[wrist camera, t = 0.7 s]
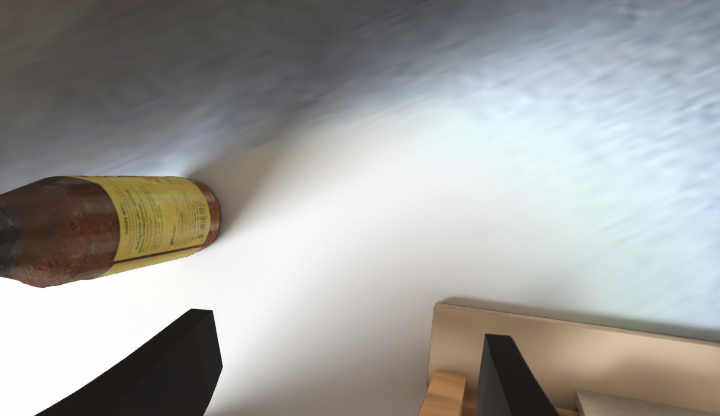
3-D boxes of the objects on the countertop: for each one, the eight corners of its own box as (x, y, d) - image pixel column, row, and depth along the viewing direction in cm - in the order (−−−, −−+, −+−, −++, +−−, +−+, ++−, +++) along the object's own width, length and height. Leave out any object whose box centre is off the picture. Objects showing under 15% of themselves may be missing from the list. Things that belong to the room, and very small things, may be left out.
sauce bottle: (188, 161, 39) (-119, 128, 19) (240, 215, 37) (-33, 237, 18) (142, 220, 40) (-186, 243, 21) (190, 274, 39) (-112, 351, 20)
